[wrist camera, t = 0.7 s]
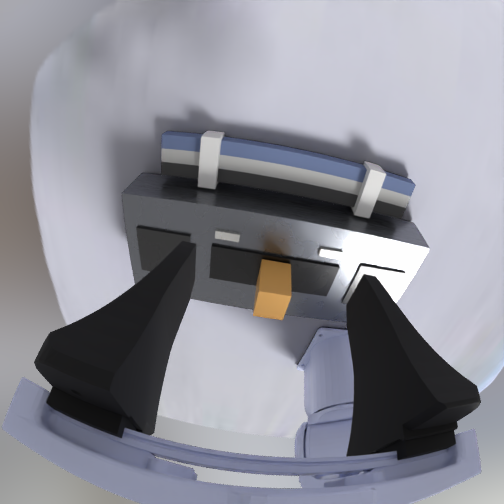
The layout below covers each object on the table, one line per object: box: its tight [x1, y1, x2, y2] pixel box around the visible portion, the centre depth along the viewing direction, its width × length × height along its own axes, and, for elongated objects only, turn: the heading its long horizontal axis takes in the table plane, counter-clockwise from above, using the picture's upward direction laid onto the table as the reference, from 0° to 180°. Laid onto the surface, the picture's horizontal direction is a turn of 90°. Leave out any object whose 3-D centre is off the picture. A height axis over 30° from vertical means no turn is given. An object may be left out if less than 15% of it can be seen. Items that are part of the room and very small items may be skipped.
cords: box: [161, 131, 415, 219], centre depth 18 cm, size 4×18×2 cm, turn 82°
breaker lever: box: [253, 259, 291, 320], centre depth 19 cm, size 2×2×3 cm
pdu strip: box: [122, 173, 430, 322], centre depth 21 cm, size 9×22×4 cm, turn 82°
